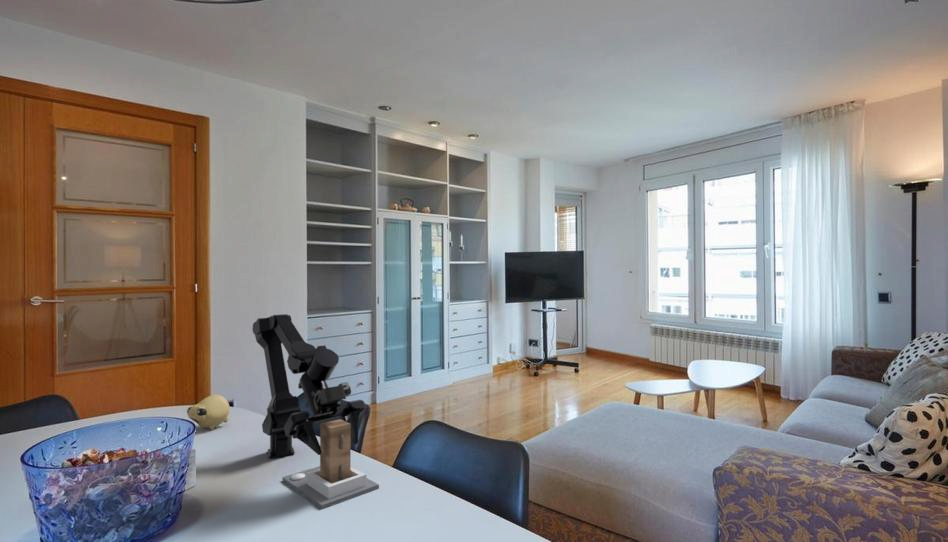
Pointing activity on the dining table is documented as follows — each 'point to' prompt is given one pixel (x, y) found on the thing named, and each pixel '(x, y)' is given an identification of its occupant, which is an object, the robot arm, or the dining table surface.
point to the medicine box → (191, 471)
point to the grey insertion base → (329, 486)
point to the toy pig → (210, 411)
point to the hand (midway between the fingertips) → (339, 448)
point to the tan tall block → (335, 450)
